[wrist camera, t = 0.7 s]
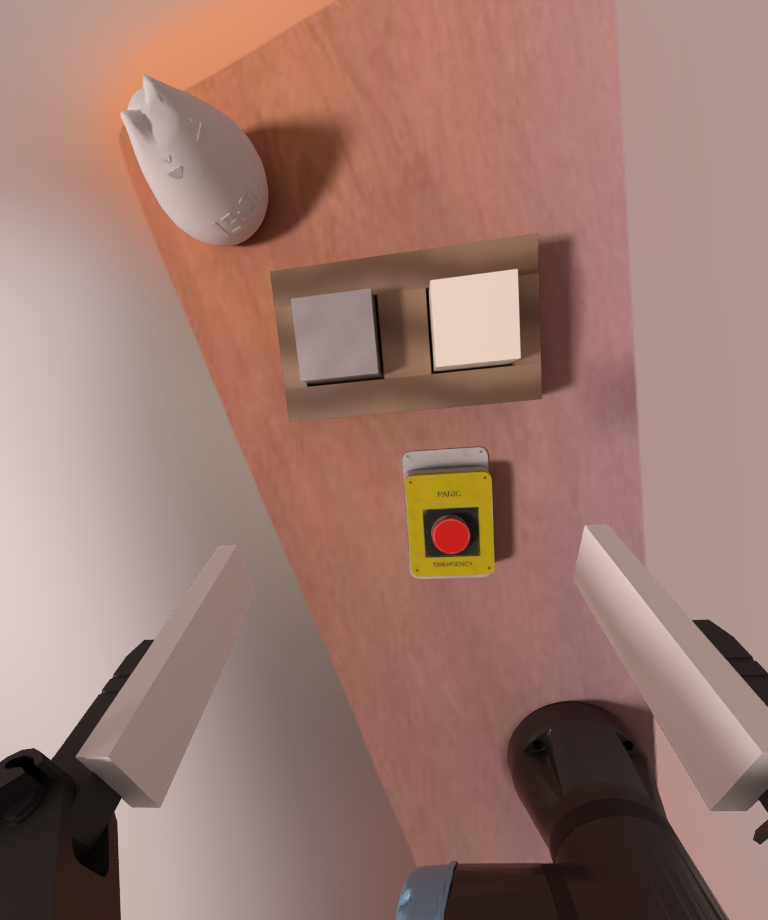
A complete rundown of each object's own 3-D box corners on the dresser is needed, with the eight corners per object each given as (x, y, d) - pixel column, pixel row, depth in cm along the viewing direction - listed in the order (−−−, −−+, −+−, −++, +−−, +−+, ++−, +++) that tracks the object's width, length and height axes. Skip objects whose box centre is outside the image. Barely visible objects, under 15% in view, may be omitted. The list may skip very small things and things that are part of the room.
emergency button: (410, 596, 35) (399, 456, 33) (410, 576, 40) (401, 451, 37) (500, 595, 34) (496, 450, 32) (490, 574, 39) (486, 445, 36)
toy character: (238, 279, 36) (150, 215, 24) (165, 210, 36) (41, 110, 24) (299, 198, 34) (237, 86, 22) (224, 124, 34) (121, -29, 22)
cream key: (509, 363, 31) (520, 358, 28) (433, 371, 32) (436, 367, 28) (506, 284, 30) (517, 268, 27) (428, 294, 31) (430, 280, 28)
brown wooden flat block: (525, 400, 35) (541, 399, 30) (304, 420, 37) (289, 422, 33) (521, 257, 33) (537, 233, 29) (288, 289, 36) (269, 271, 31)
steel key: (382, 377, 32) (378, 373, 29) (312, 384, 33) (300, 381, 30) (375, 301, 31) (370, 288, 28) (303, 310, 32) (290, 298, 29)
